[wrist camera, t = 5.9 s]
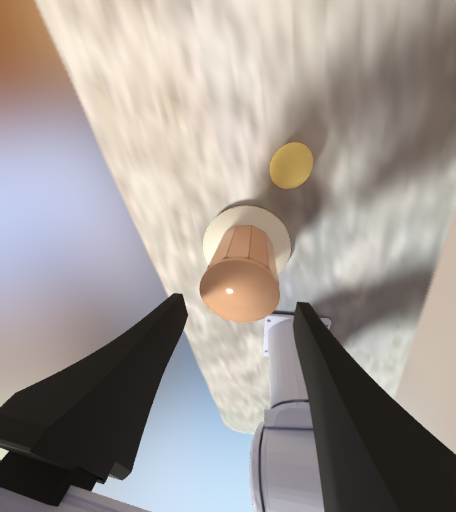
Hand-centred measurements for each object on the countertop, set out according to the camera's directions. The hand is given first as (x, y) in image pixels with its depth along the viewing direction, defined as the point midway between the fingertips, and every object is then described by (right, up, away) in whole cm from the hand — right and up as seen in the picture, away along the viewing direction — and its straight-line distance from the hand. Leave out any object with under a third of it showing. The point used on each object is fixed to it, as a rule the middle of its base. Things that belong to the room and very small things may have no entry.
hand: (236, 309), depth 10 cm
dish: (+1, +4, +7) cm, 9 cm away
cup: (+1, +4, +6) cm, 8 cm away
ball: (+4, +11, +3) cm, 12 cm away
